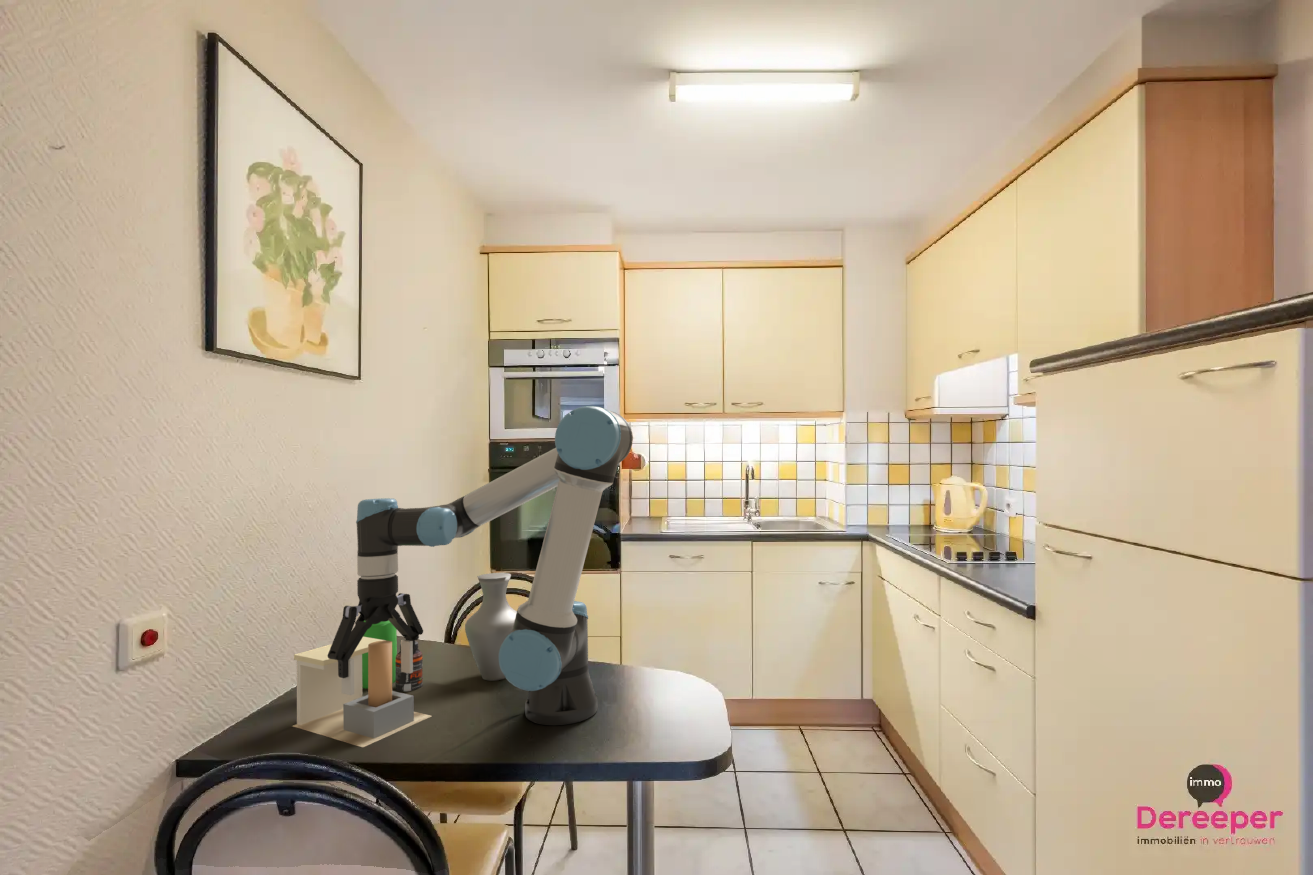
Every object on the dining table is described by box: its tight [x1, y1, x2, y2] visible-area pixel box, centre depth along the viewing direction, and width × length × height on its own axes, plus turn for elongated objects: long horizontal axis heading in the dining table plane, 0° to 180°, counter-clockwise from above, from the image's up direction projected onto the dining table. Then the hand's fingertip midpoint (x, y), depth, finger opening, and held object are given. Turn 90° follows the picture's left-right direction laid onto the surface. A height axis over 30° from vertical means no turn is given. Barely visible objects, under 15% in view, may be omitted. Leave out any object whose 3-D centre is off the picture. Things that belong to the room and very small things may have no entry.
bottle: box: [362, 620, 398, 689], centre depth 154 cm, size 9×9×25 cm
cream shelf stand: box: [293, 637, 386, 725], centre depth 133 cm, size 10×15×14 cm, turn 151°
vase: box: [464, 572, 517, 681], centre depth 159 cm, size 14×14×25 cm
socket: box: [343, 690, 415, 739], centre depth 127 cm, size 9×9×5 cm
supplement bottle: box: [395, 640, 424, 692], centre depth 149 cm, size 6×6×11 cm
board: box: [292, 709, 433, 748], centre depth 130 cm, size 22×16×1 cm
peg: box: [367, 641, 393, 707], centre depth 128 cm, size 4×4×16 cm
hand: (378, 682), depth 128 cm, fingers open, 13 cm apart
